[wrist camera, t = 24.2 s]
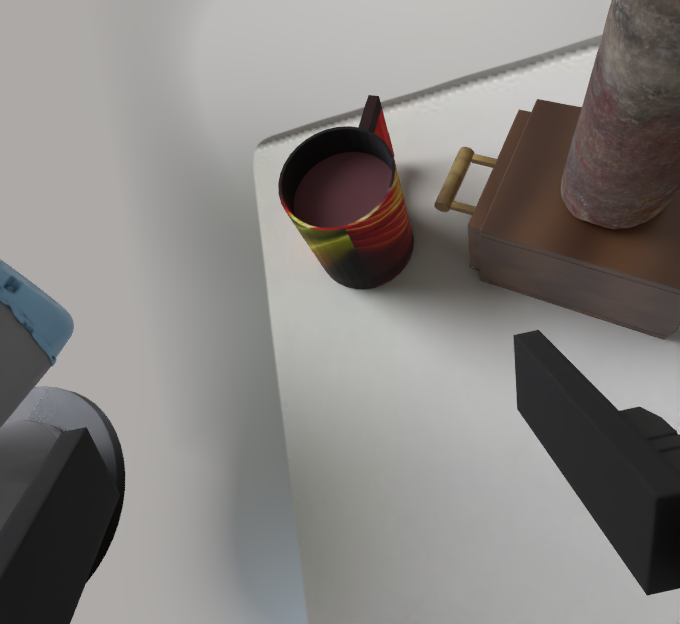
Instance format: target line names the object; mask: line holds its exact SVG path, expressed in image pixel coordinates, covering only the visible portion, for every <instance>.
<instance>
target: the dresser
mask: <svg viewBox="0 0 680 624" xmlns="http://www.w3.org/2000/svg"><path fill="white" fill-rule="evenodd" d="M581 109H582V107H576V106H571V105H566V104H560V103H555V102H550V101H544V100H539V99H537V101H536V103H535V105H534V108H533V110H532V112H531V115H530V117H529V119H528V121H527V124H526V126H525V128H524V131H523V133H522V135H521V138H520V140H519V142H518V145H517V147H516V149H515V152H514V154H513V156H512V158H511V161H510V163H509V165H508V168H507V170H506V172H505V175H504V177H503V179H502V182H501V184H500V186H499V188H498V191H497V193H496V195H495V198H494V200H493V202H492V205H491V207H490V209H489V212H488V214H487V216H486V218H485V221H484V223H483V225H482V228H481V230H480V280H481V281H484V282H488V283H491V284H494V285H497V286H500V287H503V288H506V289H509V290H512V291H515V292H518V293H522V294H525V295H528V296H531V297H534V298H537V299H540V300H543V301H546V302H549V303H552V304H556V305H559V306H562V307H565V308H568V309H571V310H574V311H577V312H580V313H583V314H586V315H590V316H593V317H596V318H599V319H602V320H605V321H608V322H611V323H614V324H617V325H621V326H624V327H627V328H630V329H633V330H636V331H639V332H642V333H645V334H648V335H651V336H655V337H658V338H661V339H665V338H667V337H668V336H669V335H670V334H672V333H673V332H674V331H675V330H676V329H677V328H678V327H680V189H679V190H678V192H677V194H676V195H675V197H674V198H673V199H672V201H671V202H670V203H669V204H668V205H667V206H666V207H665V208H664V209H663V210H662V211H661V212H660V213H658V214H657V215H656V216H655V217H653V218H652V219H650V220H648V221H646V222H645V223H641V224H639V225H637V226H634V227H631V228H619V229H610V228H606V227H602V226H599V225H596V224H592V223H590V222H588V221H584V220H580V219H579V218H576V217H575V216H574V215H573V214H572V213H571V212H570V211H569V209H568V208H567V206H566V204H565V202H564V201H563V199H562V195H561V180H562V177H563V173H564V169H565V166H566V162H567V158H568V154H569V151H570V147H571V143H572V138H573V136H574V133H575V130H576V126H577V123H578V120H579V116H580V113H581Z"/></svg>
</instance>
